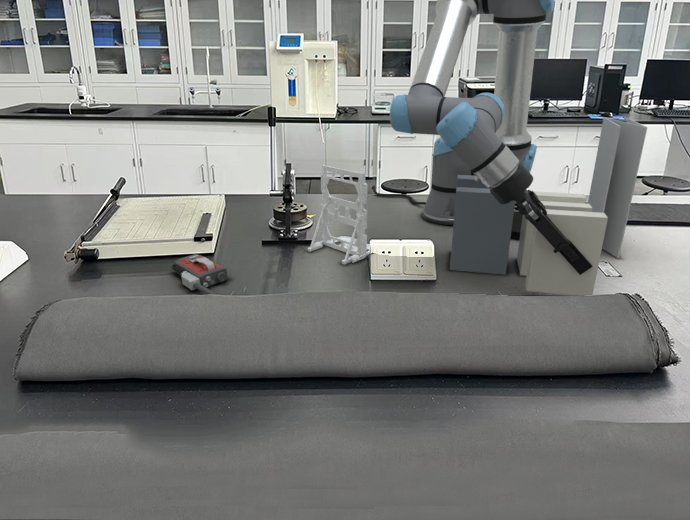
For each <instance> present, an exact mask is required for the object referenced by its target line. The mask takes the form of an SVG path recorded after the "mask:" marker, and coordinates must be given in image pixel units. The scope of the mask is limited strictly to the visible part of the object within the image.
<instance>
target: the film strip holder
mask: <svg viewBox="0 0 690 520" xmlns="http://www.w3.org/2000/svg"><path fill="white" fill-rule="evenodd" d="M328 172H332V174H331V175H332V176H331V175H328ZM335 174H339V176H340V177H335ZM344 176H348V177H349V179H344ZM353 177H354V178H358V180H357V182H356V181H353ZM330 180H333V181H337V182H342V183H345V184H349V185H354V187H355V190H356V193H357V197H356V199H355V202H354V201H349V200H346V199H343V198H338V197H335V196H331V195H330V192H329V188H328V185H329V183H330ZM368 187H369V184H368V183H366V173H365V172H357V171H353V170H349V169H344V168H339V167H334V166H329V165H326V164H321V173H320V192H321V193H322V194H321V195H322V197H321V198H320V210H321V211H320V215H319V217H318V221H317V222H316V223H317V224H316V227H315V230H314V233H313V236H312V239H311V243H310V245H309V246H308V247H307V249H306V250H307V252H309V253H311V252H314V251H316V250H319V249H322V248H324V246H327V247H329V248H332V249H334V250H337V251H341V252H343V253H345V256H344V259H342V260H341V264H342V265H344V266H345V265H348V264H350V263H352V264H354V263H357V262H359V261H361V260H364V259H366V257H368V256H370V255H371V254H370V244H371V243H368V235H367V234H366V232H365V231H366V230H367V229H368V209H366V205H367V204H368V196H369V195H368V194H369V193H368V191H369V188H368ZM330 204H333V206H334V209H333V211H334V213H332V212H330ZM340 207H343V208H344V211H345V212H344V213H345V214H344V215H340V214H341V213H340ZM351 210H353V211H355V213H356V214H355V219H353V218H351ZM330 221H334V222H337V223H340V224H343V225H347V226H350V227H353V228H354V229H353V233H352V234H351V236H347V235H346V236H344V235H341V236H338V237H336V236H332V235H331V233H330V230H329V227H328V226H329V224H330ZM320 226H321V239H322V240H320V241H316V239H317V235H318V233H319V229H320ZM356 236H357V238H356ZM339 242H340V244H336V243H339Z"/></svg>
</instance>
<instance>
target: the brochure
mask: <svg viewBox="0 0 690 520" xmlns="http://www.w3.org/2000/svg"><path fill="white" fill-rule="evenodd" d="M647 132H648V127H647V126H646V125H644V124H642V123H639V122H638V121H635V120H633V119H631V118H629V117H627V118H626V121H622V120H618V119H614V118H609V117H603V119H602V125H601V130H600V134H599V141H598V145H597V151H596V156H595V161H594V168H593V173H592V179H591V184H590V188H589V189H590V190H589V194H588V198H587V204H590V205H591V207H592V212H599V213H605V215H606V216H607V217H608V220H607V225H606V230H605V235H604V240H603V245H602V250H604V251H605V252H607V253H608V254H610V255H612V256H613V257H615V258H617V259H619V258H620V257H621V251H622V245H623V242H624V237H625V232H626V228H627V223H628V218H629V214H630V209H631V204H632V200H633V196H634V191H635V187H636V181H637V178H638V173H639V168H640V164H641V159H642V154H643V149H644V145H645V140H646V135H647Z"/></svg>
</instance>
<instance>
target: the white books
mask: <svg viewBox="0 0 690 520" xmlns="http://www.w3.org/2000/svg"><path fill="white" fill-rule="evenodd" d="M532 191H533V192H534V193H535V194H536V195H537V197H538V199H539V200H540V201H541V202H542V203H543V205H544V207H545V209H550V210H566V211H583V212H592V207H591V205H590V204H588V203H587V201H588V197H587V196H586V195H585V194H584V193H572V192H568V193H567V192H554V191H553V192H551V191H534V190H532ZM533 229H534V225H533V224H531V223H530V222H529V220H528V219H526V218H525V216H524V215H523V218H522V226H521V233H520V240H518V247H517V248H518V249H517V257H516V261H517V266H518V267H517V268H518V271H519V276H525V277H527V270H528V263H529V256H530V250H531V243H532V236H533Z"/></svg>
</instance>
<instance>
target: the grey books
mask: <svg viewBox="0 0 690 520" xmlns="http://www.w3.org/2000/svg"><path fill="white" fill-rule="evenodd" d="M475 177H476V176H471V175H458V176H457V188H456V200H455V212H454V224H453V225H452V237H451V249H450V261H449V271H456V272H457V271H458V272H469V273H478V274H479V273H480V274H481V273H482V274H492V275H504V276H506V275H507V267H508V261H509V260H508V259H509V253H510V244H511V239H510V238H511V230H512V222H513V214H514V212H515V206H516V205H515V204H516V201H510V202H509V203H507V204H500V203H499V202H498V201H497V199H496V198H495V197H494V196H493V195H492V194H491V193H490V188H486V187H485V186H484V184H483V183H482V182H481V180H479V181H475V179H474V178H475Z"/></svg>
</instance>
